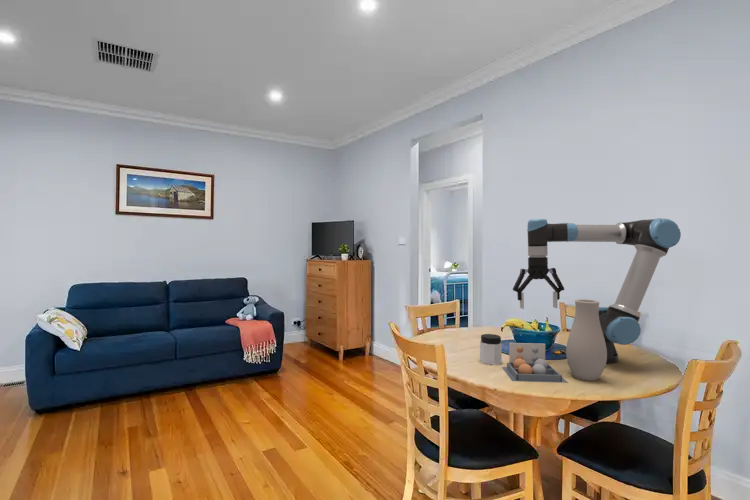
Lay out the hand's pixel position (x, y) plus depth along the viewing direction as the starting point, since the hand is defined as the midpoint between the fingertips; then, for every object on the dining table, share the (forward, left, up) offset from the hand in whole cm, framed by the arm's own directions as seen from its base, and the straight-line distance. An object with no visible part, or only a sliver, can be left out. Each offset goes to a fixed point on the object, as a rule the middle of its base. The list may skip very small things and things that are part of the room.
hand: (538, 308), depth 172 cm
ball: (+10, +16, -24) cm, 30 cm away
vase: (-13, +14, -25) cm, 32 cm away
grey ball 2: (+2, +16, -22) cm, 28 cm away
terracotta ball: (+10, +9, -24) cm, 27 cm away
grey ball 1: (+2, +9, -24) cm, 25 cm away
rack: (+6, +13, -25) cm, 28 cm away
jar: (+19, -3, -25) cm, 31 cm away
